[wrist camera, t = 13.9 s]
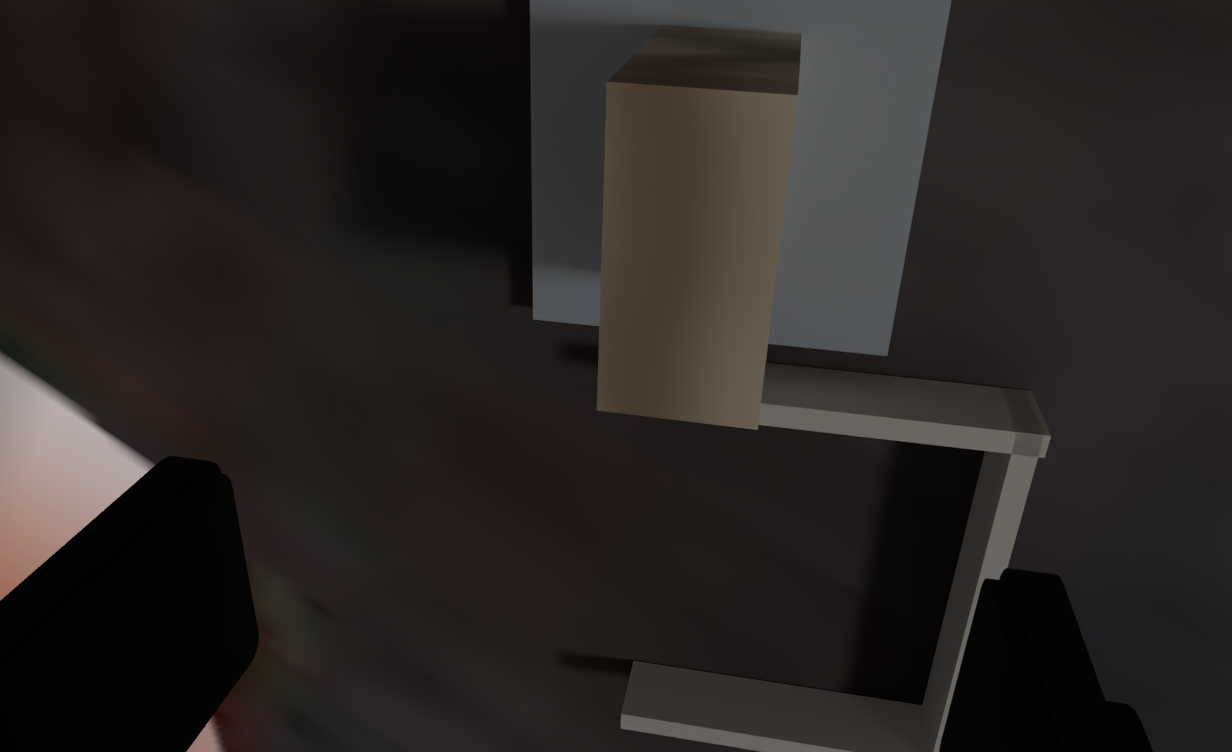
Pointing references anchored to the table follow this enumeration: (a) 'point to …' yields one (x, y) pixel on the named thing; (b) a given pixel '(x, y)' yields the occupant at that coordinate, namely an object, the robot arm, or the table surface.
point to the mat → (819, 165)
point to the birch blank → (694, 221)
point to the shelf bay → (910, 733)
